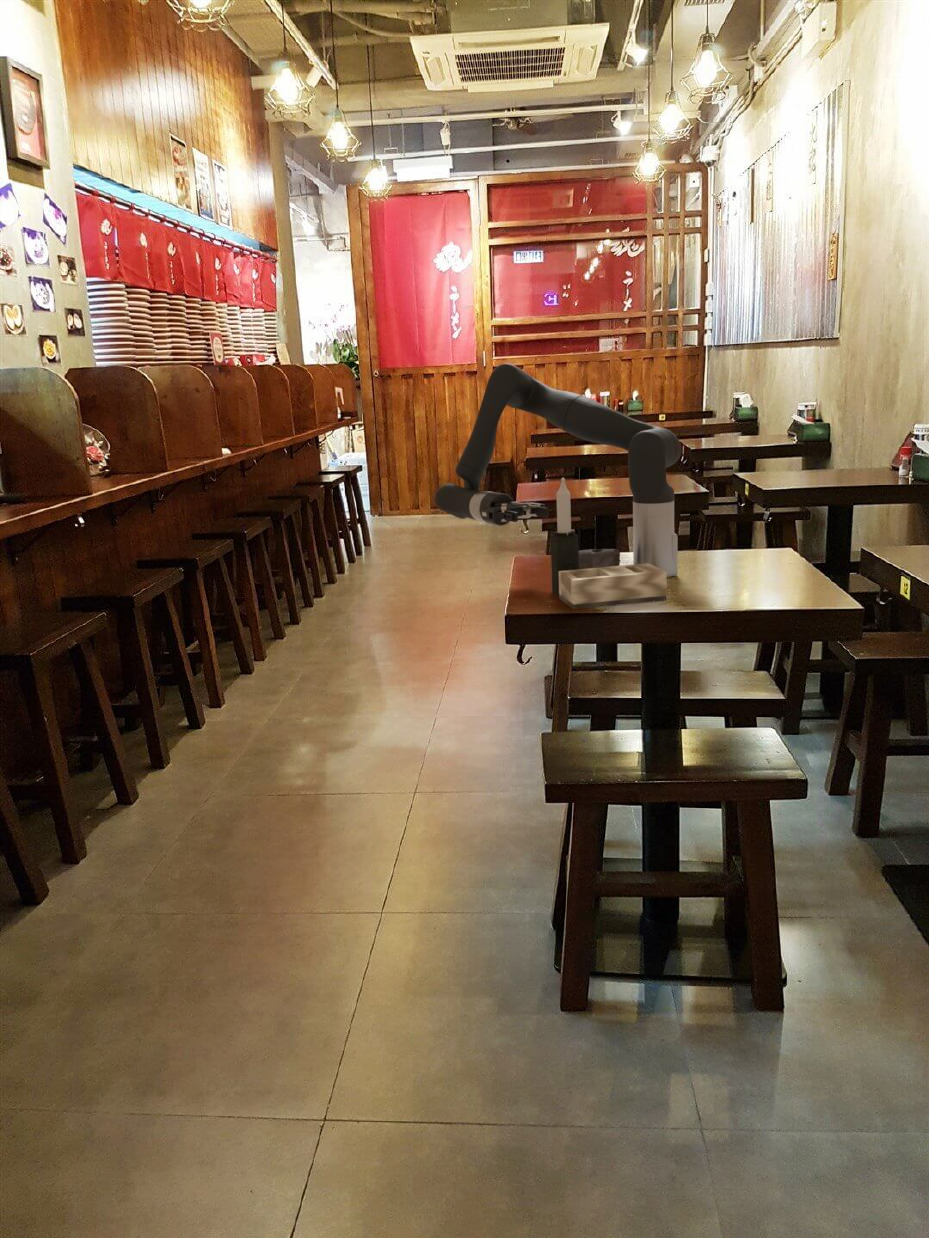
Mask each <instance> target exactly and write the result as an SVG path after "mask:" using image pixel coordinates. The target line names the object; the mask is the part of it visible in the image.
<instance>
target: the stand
mask: <svg viewBox="0 0 929 1238" xmlns="http://www.w3.org/2000/svg"><path fill="white" fill-rule="evenodd" d="M667 578H668V577H667V572H666V571H664V570H662V569H660V568H657V567H655V566H653V565H651V564H649V563H644V564H633V563H632V564H625V565H622V564H621V565H620V566H611V567H600V568H589V569H578V570H566V571H559V596H558V599H559V600H560V601H562V602H563V603H564V604H566V605H567V606H569V607H570V608H571V609H572V610H581V609H580V608H582V609H591V608H590V607H592V608H601V607H610V606H612V607H613V606H621V604H623V605H631V604H641V603H650V602H651V603H654V602H661V601H663V602H664V601H667V600H668V599H667V597H668V596H667V593H668V592H667V589H668V588H667ZM653 601H654V602H653Z"/></svg>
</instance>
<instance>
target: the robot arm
mask: <svg viewBox="0 0 929 1238" xmlns="http://www.w3.org/2000/svg"><path fill="white" fill-rule="evenodd" d="M506 407H510V408H513V409H517V410H520V411H524V412H527V413H529V414H532V415H536V416H538V417H541V418H543V419H544V420H546V421H547V422H548V423H551V424H552V425H553V426H555V427H556V428H558V429H560V430H561V431H564V432H566V433H568V434H570V435H571V436H574V437H577V438H579V439H582V440H585V441H588V442H592V443H595V444H599V445H600V444H601V445H605V446H612V447H615V448H619V449H623V450H625V451H627V463H628V464H627V467H628V468H627V469H628V483H629V484H628V485H629V489H630V491H631V494H632V538H633V539H632V549H633V551H632V553H633V555H632V556H633V557H632V559H633V560H632V561H633V563H632V565H633V564H644V563H649V564H651V565H653V566H655V567H657V568H660V569H662V570H664V571H666V572H667V578H670V577H675V576H678V541H679V540H678V534H677V533H675V489H674V488H673V487H672V486H671V485H669V483H668V480H667V468H670V467H671V466H673V465H675V464H676V463H677V462H678V460H679V459H680V457H681V454H682V445H681V444H682V443H681V442H680V440H679V438H678V437H677V435H676V434H674V432H672V431H671V430H669V429H667V428H664V427H661V426H657V425H653V424H649V423H646V422H644V421H640V420H637V419H634V418H632V417H631V416H627V415H626V414H624V413H622V412H620V411H619V410H616V409H614V408H611V407H609V406H607V405H605V404H602V403H600V402H598V401H596V400H593V398H589V397H587V396H585V395H582V394H579V393H576V392H572V391H565V390H559V389H555V388H553V387H550V386H548V385H546V384H544V383H543V382H541V381H539V380H538V379H536V378H534V377H533V376H532V375H530V374H529V373H527V372H526V371H525V370H523V369H521V368H520V367H519V366H516V365H514V364H512V363H509V362H506V363H502V364H499V365H498V366H496V367H495V368H494V369H493V371H492V372H491V373H490V375H489V378H488V381H487V384H486V387H485V389H484V393H483V397H482V400H481V402H480V407H479V410H478V413H477V416H476V420H475V423H474V425H473V429H472V431H471V434H470V436H469V439H468V441H467V444H466V446H465V448H464V449H463V451H462V454H461V456H460V458H459V461H458V462H457V464H456V467H455V474H456V475H457V477H459V478H460V479H461V480H463V486H460V485H456V484H454V483H453V484H452V483H446V484H443V485H441V486H440V487H438V489H437V490H436V492H435V494H434V504H435V506H436V508H437V509H438V510H440V511H442V512H443V513H446V514H449V515H450V516H454V517H455V518H458V519H462V520H464V519H471V520H474V521H479V522H481V523H485V524H490V525H495V526H506V525H508V524H509V523H517V522H518V521H519V519H530V518H531V517H536V518H537V517H539V518H545V519H546V518H549V515H550V509H549V507H545V505H546V504H545V503H538V502H531V501H528V502H527V501H526V502H519V501H514V500H513V498H512V497H511V496H510V495H509V494H506V493H503V492H502V493H501V492H498V491H497V492H496V491H495V492H494V491H485V490H480V488H481V484H482V479H483V477H484V474H485V473H486V470H487V468H488V466H489V465H490V462H491V459H492V458H493V456H494V455H493V454H494V451H495V446H496V437H497V431H498V426H499V422H500V419H501V416H502V415H503V412H504V411H505V408H506ZM524 512H525V513H526V515H525V514H524Z"/></svg>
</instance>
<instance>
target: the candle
mask: <svg viewBox="0 0 929 1238" xmlns="http://www.w3.org/2000/svg"><path fill="white" fill-rule="evenodd" d="M560 481H561V483H560V486H559V489H558V490H557V492H556V521H557V522H556V524H557V529H556V530H554V531H553V534H550V557H551V558H550V559H551V564H550V565H551V592H552V594H555V595H556V596H558V597H559V571H566V570H578V569H579V551H580V549H579V535H578V534H576V531H575V530H572V516H571V515H572V513H571V492H570V491H569V489H568V488H567V484H566V479H565V477H562V478H561V479H560Z"/></svg>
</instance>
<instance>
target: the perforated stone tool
mask: <svg viewBox="0 0 929 1238" xmlns="http://www.w3.org/2000/svg"><path fill="white" fill-rule="evenodd" d="M620 558H621V552H620V551H619V550H618V549H617V548H601V549H596V548H593V549H592V548H591V549H582V550H579V569H589V568H600V567H611V566H621V565H620V564H621V560H620Z"/></svg>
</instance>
